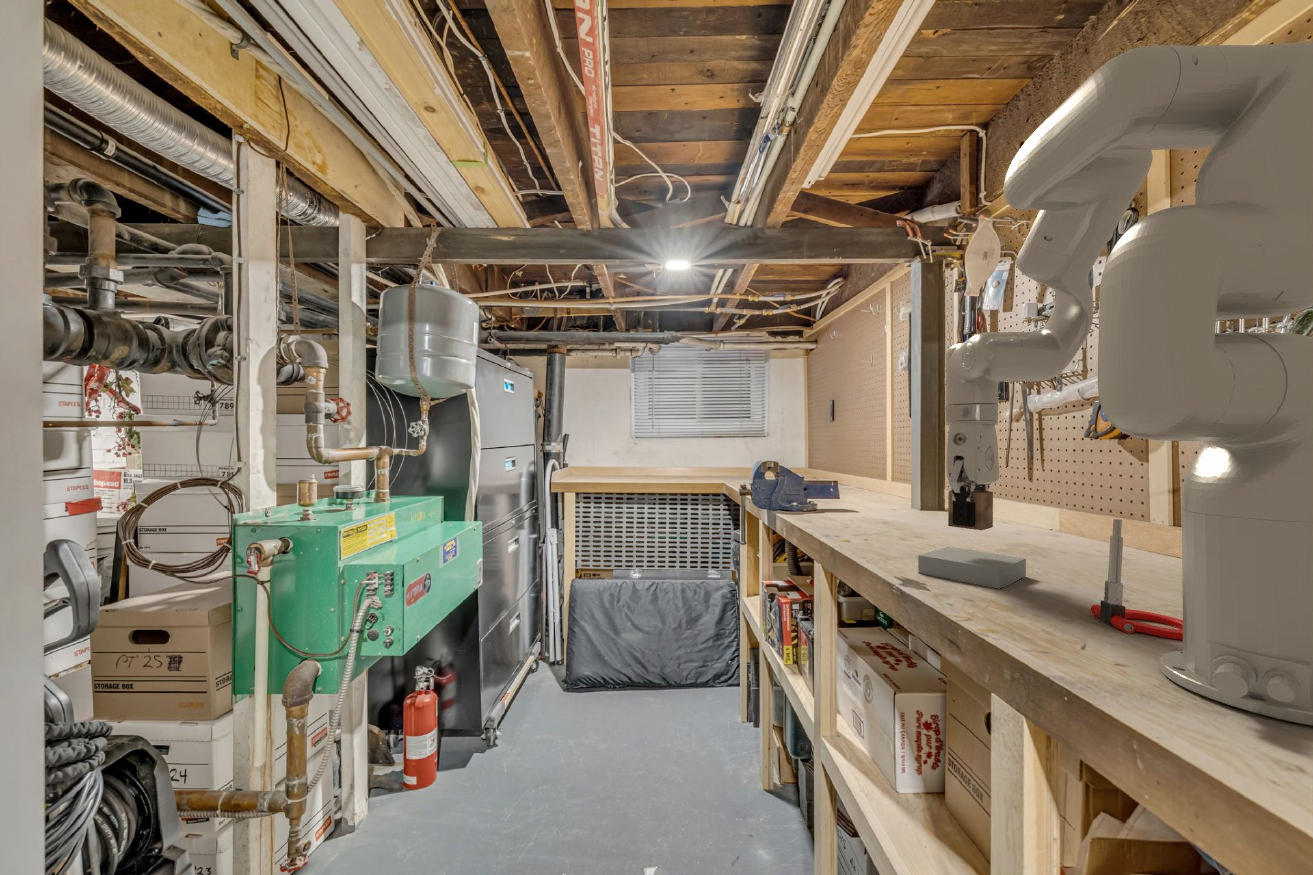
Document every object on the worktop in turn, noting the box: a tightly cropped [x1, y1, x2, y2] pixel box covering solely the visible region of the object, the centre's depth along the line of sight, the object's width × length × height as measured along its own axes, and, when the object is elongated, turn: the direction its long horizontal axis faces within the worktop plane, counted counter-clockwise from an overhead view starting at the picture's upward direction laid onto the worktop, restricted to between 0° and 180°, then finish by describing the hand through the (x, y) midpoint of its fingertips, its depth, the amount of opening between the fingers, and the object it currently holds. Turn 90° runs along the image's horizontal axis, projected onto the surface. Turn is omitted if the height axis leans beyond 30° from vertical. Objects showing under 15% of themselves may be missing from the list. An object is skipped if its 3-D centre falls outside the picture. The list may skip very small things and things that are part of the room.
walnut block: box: [947, 489, 994, 531], centre depth 86 cm, size 5×5×6 cm
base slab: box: [917, 546, 1027, 589], centre depth 85 cm, size 12×12×3 cm
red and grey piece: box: [1089, 518, 1183, 641], centre depth 61 cm, size 8×13×9 cm
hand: (970, 522), depth 86 cm, fingers closed on walnut block, 5 cm apart
